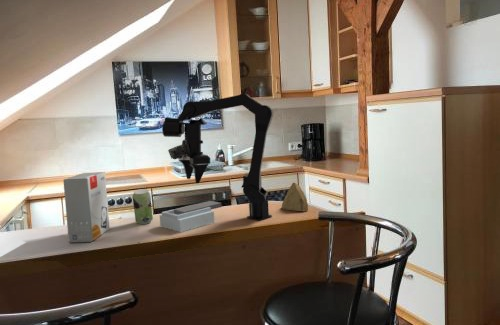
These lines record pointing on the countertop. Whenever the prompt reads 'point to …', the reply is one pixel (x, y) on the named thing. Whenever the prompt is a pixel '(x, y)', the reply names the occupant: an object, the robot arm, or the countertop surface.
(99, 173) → the hard drive box
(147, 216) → the beverage can
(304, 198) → the rock
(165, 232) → the countertop surface
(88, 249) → the countertop surface
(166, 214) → the lidded box
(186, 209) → the cover plate
